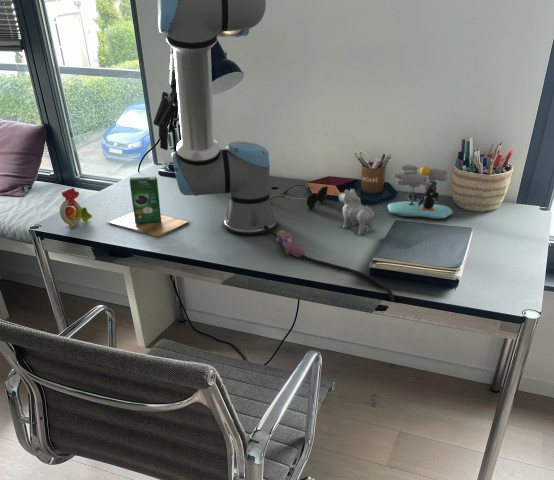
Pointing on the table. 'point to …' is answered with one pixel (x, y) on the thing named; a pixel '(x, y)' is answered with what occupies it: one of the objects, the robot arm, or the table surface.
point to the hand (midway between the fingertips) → (181, 146)
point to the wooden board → (150, 225)
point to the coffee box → (145, 199)
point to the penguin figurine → (428, 205)
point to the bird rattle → (70, 213)
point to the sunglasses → (311, 196)
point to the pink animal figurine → (289, 244)
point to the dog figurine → (356, 211)
